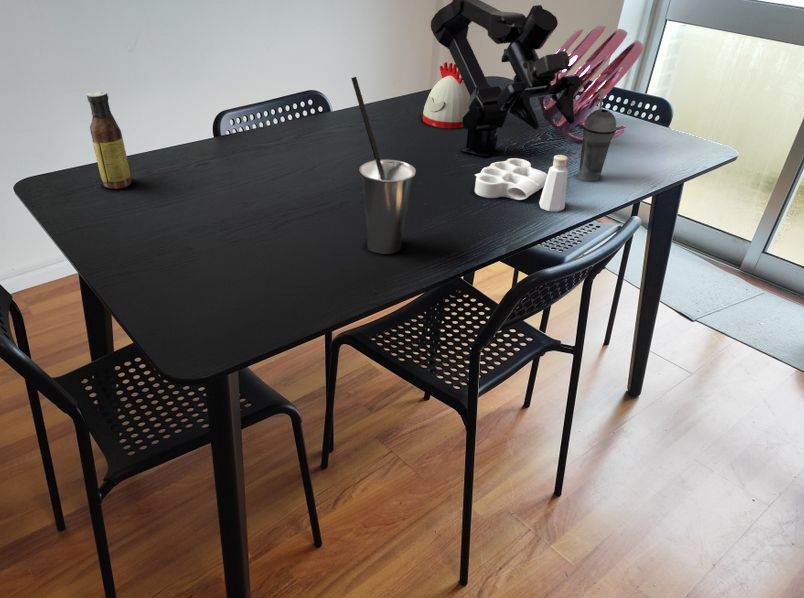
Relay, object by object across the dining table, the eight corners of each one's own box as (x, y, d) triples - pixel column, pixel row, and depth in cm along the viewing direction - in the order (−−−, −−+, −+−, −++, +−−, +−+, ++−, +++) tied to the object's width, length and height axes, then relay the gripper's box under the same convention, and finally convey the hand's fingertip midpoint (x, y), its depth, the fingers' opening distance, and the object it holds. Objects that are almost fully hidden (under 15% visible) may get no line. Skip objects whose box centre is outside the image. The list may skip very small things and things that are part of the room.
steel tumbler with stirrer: (349, 233, 140) (351, 75, 122) (405, 232, 141) (415, 75, 123) (353, 260, 131) (356, 94, 114) (414, 258, 132) (426, 93, 114)
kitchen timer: (445, 109, 205) (450, 54, 196) (483, 121, 197) (490, 64, 188) (412, 119, 197) (416, 62, 188) (449, 131, 189) (455, 73, 180)
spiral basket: (691, 58, 178) (611, -17, 176) (657, 113, 163) (570, 32, 161) (612, 128, 202) (542, 63, 200) (577, 181, 187) (500, 112, 185)
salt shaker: (566, 204, 153) (577, 154, 146) (561, 214, 149) (571, 163, 142) (541, 199, 154) (550, 150, 148) (535, 209, 150) (544, 158, 144)
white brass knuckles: (517, 208, 151) (459, 189, 158) (556, 183, 162) (499, 167, 169) (520, 193, 149) (460, 175, 156) (558, 169, 160) (501, 153, 167)
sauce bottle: (137, 181, 159) (121, 90, 147) (121, 192, 154) (103, 99, 142) (112, 177, 161) (94, 87, 149) (95, 188, 156) (76, 95, 144)
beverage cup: (606, 185, 161) (627, 95, 150) (573, 182, 163) (591, 92, 151) (603, 173, 167) (623, 85, 156) (571, 170, 168) (589, 83, 157)
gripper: (508, 41, 143) (538, 106, 140) (581, 34, 150) (612, 95, 146) (484, 78, 153) (511, 140, 150) (553, 70, 160) (581, 128, 156)
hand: (555, 125), depth 150 cm, fingers open, 9 cm apart
